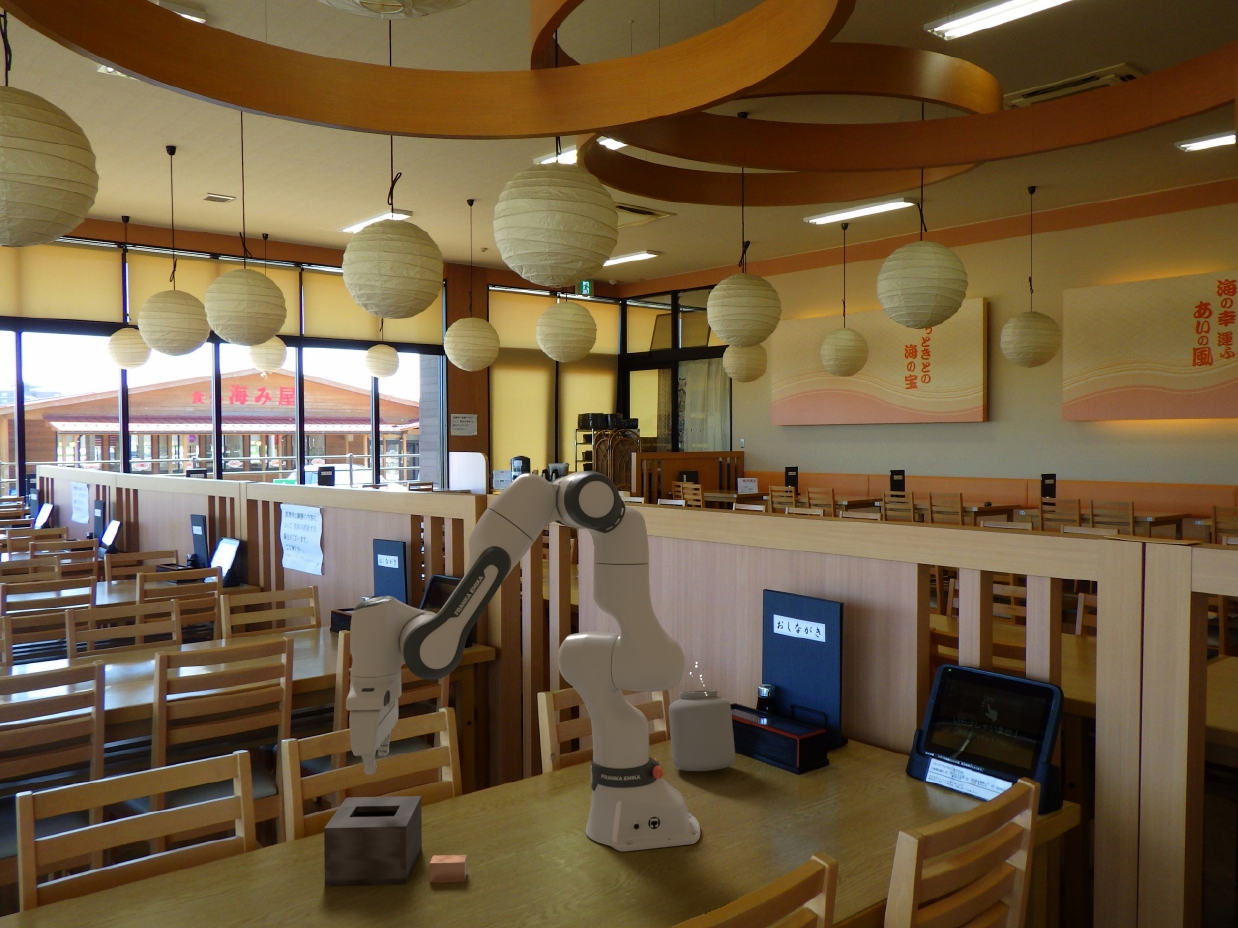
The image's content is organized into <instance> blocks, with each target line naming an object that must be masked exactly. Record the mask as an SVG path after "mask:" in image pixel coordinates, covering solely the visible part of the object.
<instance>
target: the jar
mask: <svg viewBox="0 0 1238 928" xmlns="http://www.w3.org/2000/svg"><path fill="white" fill-rule="evenodd" d="M695 664H696V665H695V668H698V665H697V664H698V661H695ZM691 674H692V672H691V671H690V672H689V675H690V676H691ZM702 675H703V674H700V675H699V677H700V680H701V683H703V682H704V681H702V679H703V678H701V677H702ZM703 687H705V684H703ZM678 695H679V696H678V697H679V699H677V700H674V701H673V702H671V703H670V704H669V707H668V719H669V720H668V721H669V731H670V733H669V734H670V743H671V744H670V745H671V757H672V763H673V765H674V767H675V768H677V769H679V770H681V771H686V772H687V771H688V772H707V771H708V772H709V771H717V770H721V769H725V768H728V767H730V766H731V765H733V764H734V763H735V760H736V749H735V740H734V739H735V738H734V737H735V736H734V729H733V726H734V725H733V718H732V717H733V716H732V708H731V703H730V701H728V700H727V699H726V698H724V697H721V696H718V690H717V689H704V690H703V689H700V690H688V691H682V692H681V691H680V692H679V693H678Z"/></svg>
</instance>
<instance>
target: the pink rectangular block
mask: <svg viewBox="0 0 1238 928" xmlns="http://www.w3.org/2000/svg"><path fill="white" fill-rule="evenodd" d="M467 857H468V854H449V855H448V854H447V855H446V854H444V855H442V854H441V855H437V854H436V855H432V857H431V860H430V862H429V883H463V882H465V881H466V878H467V875H468V858H467Z"/></svg>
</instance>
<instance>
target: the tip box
mask: <svg viewBox="0 0 1238 928" xmlns="http://www.w3.org/2000/svg"><path fill="white" fill-rule="evenodd" d="M422 810H423V808H422V795H413V796H412V795H411V796H410V795H409V796H407V795H405V796H404V795H403V796H401V795H400V796H398V795H397V796H362V797H361V796H359V797H357V796H356V797H346V798H345V799H344V800H343V802H342V803H341V804H340V805H339V807H338V809H337V810H336V812H334V814H333V816H332V817H330V820H329V821H328V823H327V824H326V825H325V826H324V827H323V828H324V829H323V830H324V831H323V836H324V837H323V839H324V840H323V841H324V842H323V843H324V848H323V849H324V852H323V853H324V887H339V886H340V887H342V886H343V887H345V886H346V887H347V886H350V887H351V886H378V885H379V886H381V885H382V886H386V885H387V886H388V885H407V884H408V881H409V880H410V877H411V875H412V873H413V871H414V868H415V865H416V863H417V861H418V858H419V856H420V854H421V852H422V851H423V849H422V847H423V845H422V844H423V837H422V836H423V835H422V834H423V832H422V829H423V828H422V825H423V824H422V823H423V822H422V818H423V817H422Z"/></svg>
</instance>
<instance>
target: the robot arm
mask: <svg viewBox="0 0 1238 928" xmlns="http://www.w3.org/2000/svg"><path fill="white" fill-rule="evenodd" d="M554 522H555V523H557V524H558V525H562V526H565V527H570V528H573V529H574V528H575V529H580V530H581V529H586V530H587V531H588V532H589V534H590V535H591V538H592V542H593V546H594V547H593V572H592V574H593V578H592V579H593V581H592V585H593V587H592V588H593V591H592V597H593V600H594V602H595V604H596V605H597V607H598V608H599V609H600V610H601V611H602V612H604V613H606V614H608V615H609V616H611V617H612V618H613V619H614V620H615V621H616V623H617V624H618V627H619V630H620V632H609V631H595V630H592V631H589V630H588V631H584V632H582V631H581V632H578V633H573V634H572V633H570V634H569V635H567V636H566V637H565V639H564V640H563V641H562V643H561V645H560V646H559V649H558V653H557V666H558V670H559V673H560V675H561V676H562V679H564V680H565V681H566V682H567V683H568V684H569V685H570V686H572V688H573V689H574V690H576V692H577V693H578V695H579V696H580V698H581V699H582V701H583V703H584V705H585V707H586V710H587V711H588V714H589V720H590V723H591V734H592V735H591V736H592V754H593V755H592V758H591V761H590V787H591V790H592V791H591V792H592V793H591V801H590V809H589V814H588V820H587V824H586V827H585V834H586V836H587V837H588V838H589V839H591V840H592V841H594V842H596V843H598V844H603V845H605V846H610V847H611V848H613V849H615V850H616V851H619V852H630V851H631V852H633V851H639V850H640V851H641V850H650V849H658V848H668V847H676V846H686V845H694V844H695V843H697V842H698V841H699V839H700V838H701V826H700V823H699V821H698V819H697V818H696V817H695V815H693V814H692V813H690V812H689V809H688V804H687V802H686V799H685V797H684V796H683V794H682V793H681V792H680V790H678V789H677V788H675V787H674V786H672V785H671V784H670V783H669V782H667V781H665V779H663V778H662V777H663V776H664V770H663V767H662V766H661V765H660V762H659V761H658V760H657V757H654V758H653V757H651V756H650V725H649V721H648V719H647V717H646V716H645V714H644V713H643V712H642V711H641V710H640V709H639V708H637V707H635V706H633V705H632V704H631V703H630V702H629V701H628V700H627V699H626V697H625V696H624V694H623V691H634V692H643V693H644V692H645V693H653V692H654V693H655V692H663V691H669V690H673V689H674V688H676V687H677V686H678V685H679V683H680V682H681V680H682V679H683V676H684V673H685V669H686V659H685V657H686V656H685V654H684V651H683V649H682V647H681V646H680V644H679V643H678V642H677V641H676V640H675V639H674V638H673V637H672V636H671V635H670V634H668V633H667V632H666V630H665V629H664V628H663V627H662V625H661V623H660V622H659V620H658V618H657V617H656V614H655V612H654V609H653V606H652V600H651V590H650V550H649V549H650V548H649V547H650V546H649V540H648V539H649V536H648V532H647V531H648V530H647V525H646V520H645V517H644V515H643V514H642V513H641V512H640V511H638V510H637V509H635V508H632V507H630V506H626V504H625V502H624V501H623V499H622V497H621V495H620V492H619V490H618V488H617V486H616V485H615V483H614V482H613V481H612V479H611V478H609V477H608V476H607V475H605V474H603V473H601V472H598V471H593V470H592V471H591V470H589V471H585V470H584V471H583V470H582V471H575V472H572V473H570V474H566V475H563V476H561V477H558V478H556V479H554V480H552V481H548V480H547V479H546V478H545V477H543V476H541V475H539V474H536V473H531V472H525V473H523V474H522V473H521V474H520V475H518V476H517V477H516V478H515V479H513V480H512V481H511V482H510V483H508V485H507V486H506V487H505V488H504V489H503V490H502V491H501V492H500V493H499V494H498V495H496V497H495V498H494V499H493V501H492V502H491V503H490V505H489V506H488V507H487V508H486V510H484V512H483V513H482V515H481V516H480V518H479V519H478V521H477V523H476V524H475V526H474V528H473V530H472V532H471V533H470V536H469V538H468V539H469V540H468V547H469V560H468V565H467V568H466V571H465V573H464V576H463V577H462V579H460V581H459V583H458V584H457V586H456V587H455V589H454V590H453V592H452V593H451V594H450V596H449V597H448V599H447V601H446V602H445V603H444V604H443V606H442V608H441V609H440V610H439V611H438V612H436V613H435V612H433V611H430V610H429V611H428V610H424V609H421V608H420V609H419V608H417V607H413V606H410V605H408V604H406V603H404V602H403V601H401V600H398V599H397V598H396V597H394V596H391V595H384V596H381V595H380V596H375V597H371V598H368V599H366V600H363V601H361V602H359V603H358V604H357V605H356V606H355V608H354V609H353V611H352V615H351V618H350V619H351V620H350V629H349V630H350V632H349V637H350V638H349V649H350V654H351V656H352V657H351V658H352V664H351V667H350V684H349V691H348V693H347V697H346V699H345V710H347V711H350V712H349V717H348V718H349V720H348V722H349V723H348V724H349V737H350V739H349V740H350V747H351V751H352V753H353V756H356V757H361V759H362V763H363V766H364V770H363V771H364V774H365V775H367V776H370V775H371V776H373V775H375V774H376V771H377V768H378V766H377V765H378V764H377V761H376V754H377V755H378V756H379V757H386V756H388V754H389V753H390V742H391V736H392V730H393V728H394V727H395V726H396V725H397V723H398V721H399V698H400V697H401V696H402V666H403V665H406V667H407V669H408V670H409V672H411V674H413V675H414V676H416V677H417V678H420V679H423V680H429V681H430V680H431V681H435V680H440V679H443V678H445V677H447V676H449V675H450V674H452V672H453V671H455V670H456V669H457V668H458V666H459V664H460V662H461V661H462V658H463V656H464V655H463V654H464V651H465V645H466V643H467V640H468V637H469V634H470V633H471V631H472V628H473V627H474V626H475V624H476V623H477V621H478V620H479V618H480V617H481V616H482V614H483V613H484V611H485V610H486V608H487V607H488V605H489V603H490V602H491V601H492V599H493V598H494V596H495V594H496V593H497V592H498V590H499V588H500V587H501V585H502V583H504V581H505V580H506V579H507V577H508V576H509V575H510V573H511V572H512V570H513V569H514V568H515V567H516V565H518V564H519V562H520V561H522V558H524V556H525V555H526V553H527V552H528V551H529V550H530V549H531V547H532V546H533V544H534V543H535V542H536V540H537V539H538V538H539V536H540V535H541V533H542V532H543V530H545V529H546V528H547V527H548V526H549V525H550V524H552V523H554ZM376 752H377V753H376Z"/></svg>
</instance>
